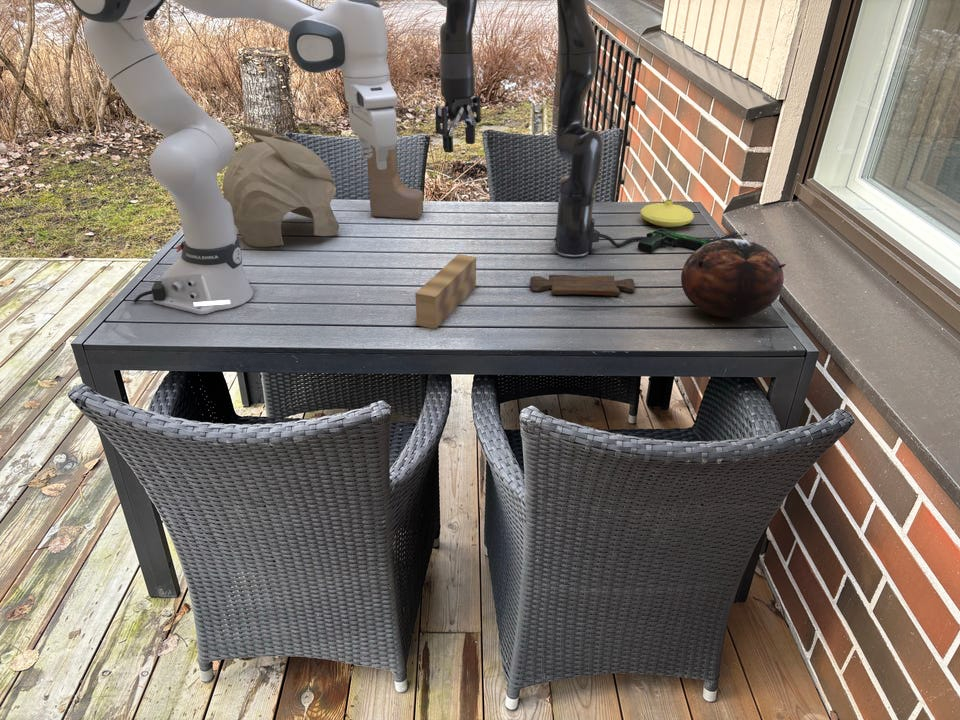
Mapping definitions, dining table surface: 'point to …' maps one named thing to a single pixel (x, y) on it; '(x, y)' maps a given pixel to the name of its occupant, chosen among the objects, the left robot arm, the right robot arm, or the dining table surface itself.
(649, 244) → the handgun
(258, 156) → the helmet
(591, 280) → the dark wooden board
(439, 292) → the bar
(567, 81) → the right robot arm
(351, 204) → the dining table surface
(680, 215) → the yellow knobbed lid
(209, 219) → the left robot arm
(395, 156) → the decorative block
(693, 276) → the brown coconut
